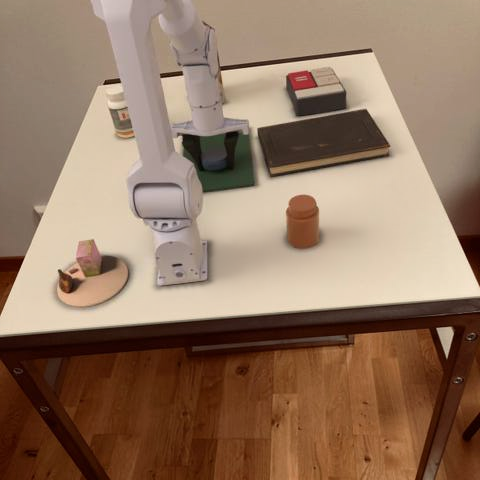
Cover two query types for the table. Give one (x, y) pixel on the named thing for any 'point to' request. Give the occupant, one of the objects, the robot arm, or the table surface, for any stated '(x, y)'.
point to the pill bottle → (119, 111)
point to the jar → (302, 221)
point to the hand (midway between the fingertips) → (216, 168)
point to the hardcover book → (321, 142)
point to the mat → (224, 176)
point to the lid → (214, 158)
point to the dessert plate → (92, 277)
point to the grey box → (315, 91)
